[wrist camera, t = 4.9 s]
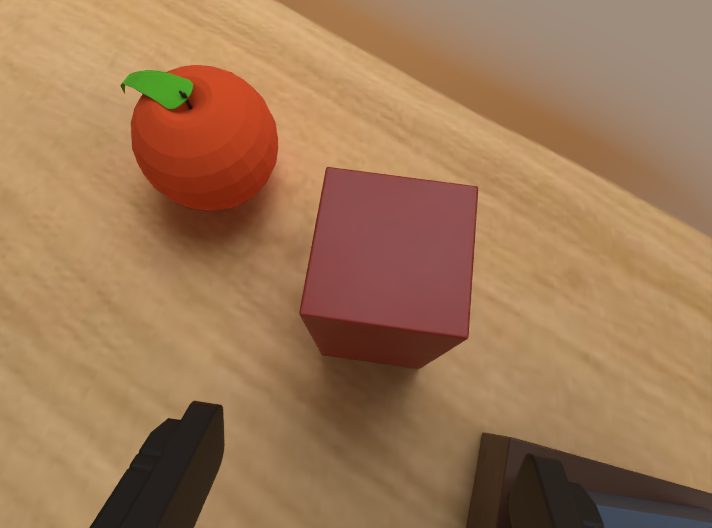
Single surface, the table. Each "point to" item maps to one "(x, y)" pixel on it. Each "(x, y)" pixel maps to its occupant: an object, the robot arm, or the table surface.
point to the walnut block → (505, 458)
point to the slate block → (648, 513)
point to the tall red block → (390, 268)
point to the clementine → (202, 136)
